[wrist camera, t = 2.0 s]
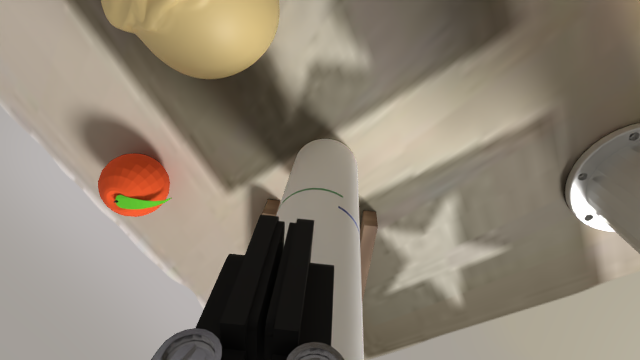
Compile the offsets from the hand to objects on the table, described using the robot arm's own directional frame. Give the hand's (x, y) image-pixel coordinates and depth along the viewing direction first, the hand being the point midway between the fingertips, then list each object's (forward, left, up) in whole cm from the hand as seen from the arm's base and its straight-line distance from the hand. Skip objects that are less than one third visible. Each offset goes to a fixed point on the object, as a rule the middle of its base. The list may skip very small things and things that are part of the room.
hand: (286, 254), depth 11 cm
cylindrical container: (0, +10, -27) cm, 29 cm away
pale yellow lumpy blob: (+11, -6, -27) cm, 29 cm away
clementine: (+20, +13, -27) cm, 36 cm away
